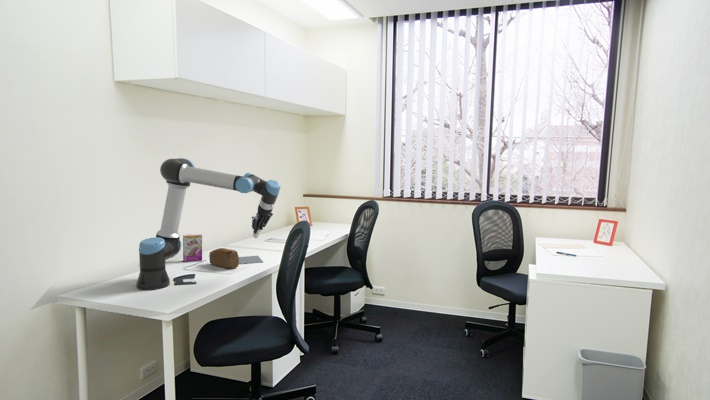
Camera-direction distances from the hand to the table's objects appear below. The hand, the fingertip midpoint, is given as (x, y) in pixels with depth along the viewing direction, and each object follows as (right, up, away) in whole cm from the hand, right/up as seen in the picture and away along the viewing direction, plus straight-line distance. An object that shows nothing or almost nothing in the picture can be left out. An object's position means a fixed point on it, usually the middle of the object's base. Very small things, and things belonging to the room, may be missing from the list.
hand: (255, 236), depth 243 cm
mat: (-14, -18, +31) cm, 38 cm away
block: (-14, -14, +9) cm, 22 cm away
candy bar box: (-45, -18, +28) cm, 56 cm away
